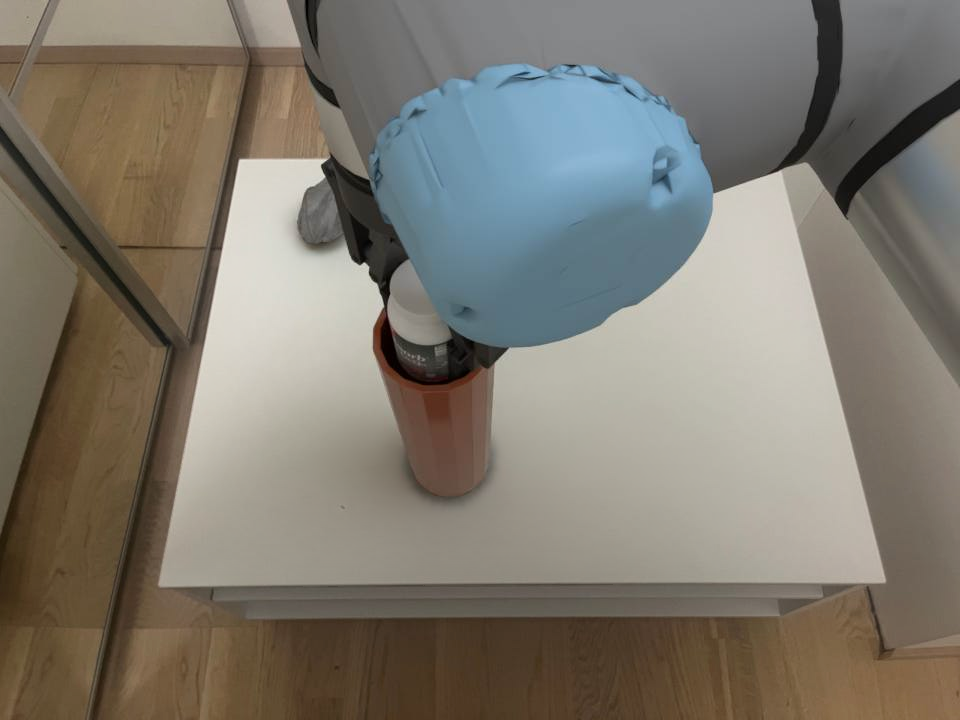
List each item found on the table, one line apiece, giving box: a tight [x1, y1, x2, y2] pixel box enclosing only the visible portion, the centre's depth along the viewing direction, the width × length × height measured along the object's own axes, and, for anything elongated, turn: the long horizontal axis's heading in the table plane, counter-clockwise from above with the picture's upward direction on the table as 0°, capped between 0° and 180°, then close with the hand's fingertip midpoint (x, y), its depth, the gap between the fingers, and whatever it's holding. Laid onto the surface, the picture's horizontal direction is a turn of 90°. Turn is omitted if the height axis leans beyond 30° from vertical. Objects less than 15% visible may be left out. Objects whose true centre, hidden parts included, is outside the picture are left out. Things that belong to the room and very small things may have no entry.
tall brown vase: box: [372, 306, 496, 498], centre depth 65 cm, size 9×9×32 cm
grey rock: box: [296, 176, 344, 245], centre depth 90 cm, size 11×9×8 cm
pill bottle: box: [387, 259, 452, 382], centre depth 48 cm, size 6×6×10 cm
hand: (435, 347), depth 52 cm, fingers closed on pill bottle, 6 cm apart
